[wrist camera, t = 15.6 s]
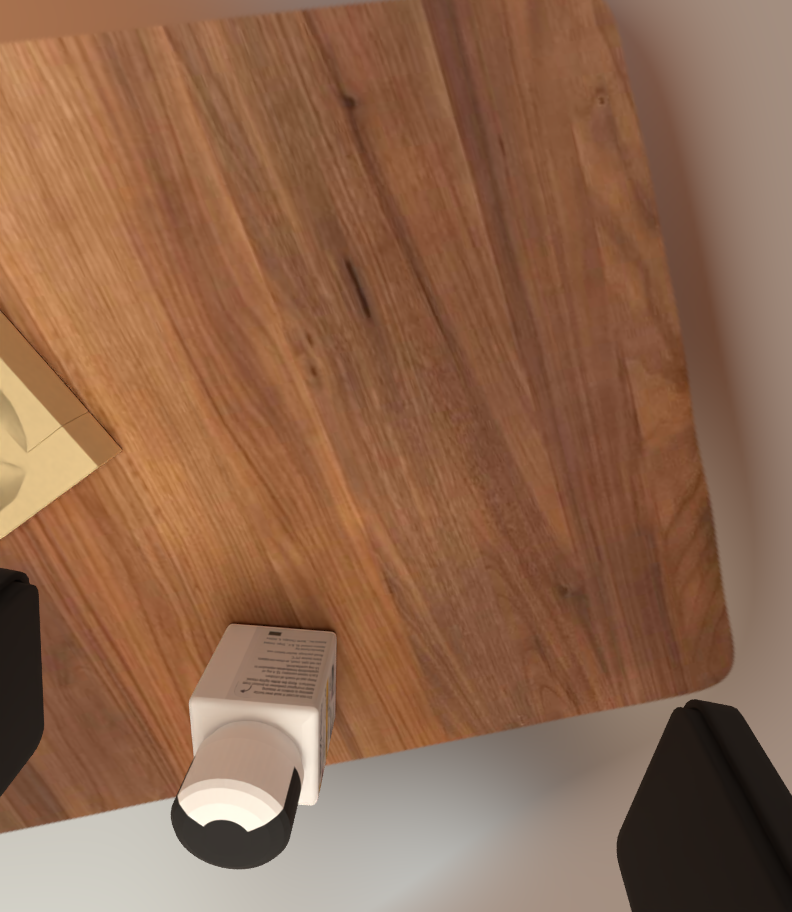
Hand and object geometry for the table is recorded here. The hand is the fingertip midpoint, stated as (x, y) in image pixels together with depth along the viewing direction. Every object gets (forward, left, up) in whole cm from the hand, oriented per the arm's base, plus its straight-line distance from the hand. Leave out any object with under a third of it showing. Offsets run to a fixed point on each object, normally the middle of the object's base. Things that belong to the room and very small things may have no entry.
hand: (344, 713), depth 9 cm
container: (+14, -21, -28) cm, 38 cm away
